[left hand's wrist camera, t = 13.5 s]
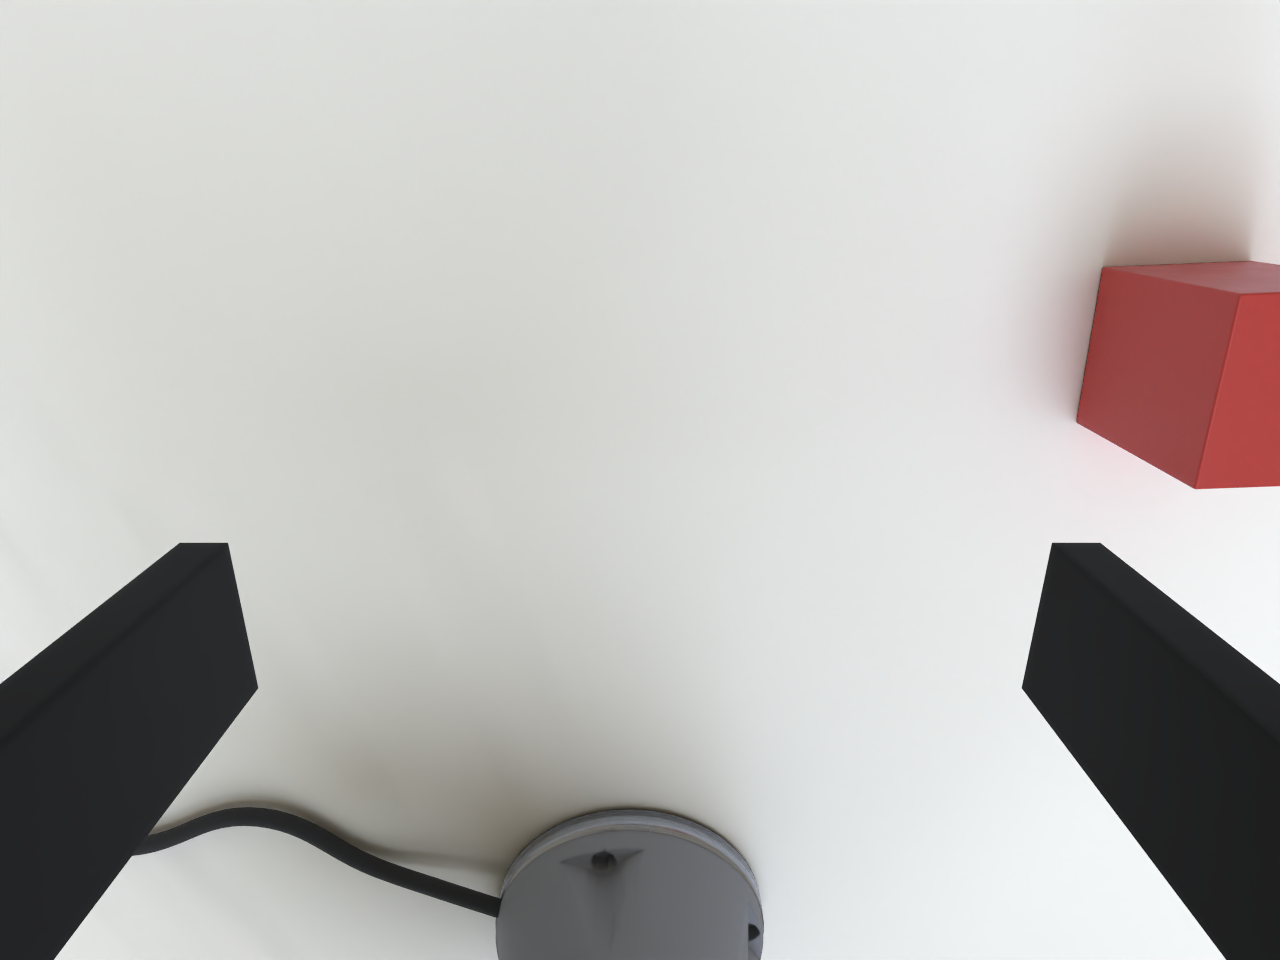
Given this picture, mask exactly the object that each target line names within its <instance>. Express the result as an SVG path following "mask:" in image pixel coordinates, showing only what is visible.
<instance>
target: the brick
mask: <svg viewBox="0 0 1280 960" xmlns="http://www.w3.org/2000/svg"><path fill="white" fill-rule="evenodd" d="M1077 423H1078V424H1080V425H1082V426H1084V427H1085V428H1087V429H1089V430H1091V431H1093V432H1094V433H1096V434H1098V435H1100V436H1101V437H1103V438H1105V439H1107V440H1109V441H1110V442H1112V443H1114V444H1116V445H1117V446H1119V447H1121V448H1123V449H1124V450H1126V451H1128V452H1130V453H1132V454H1133V455H1135V456H1137V457H1139V458H1140V459H1142V460H1144V461H1146V462H1148V463H1149V464H1151V465H1153V466H1155V467H1156V468H1158V469H1160V470H1162V471H1164V472H1165V473H1167V474H1169V475H1171V476H1172V477H1174V478H1176V479H1178V480H1180V481H1181V482H1183V483H1185V484H1187V485H1188V486H1190V487H1192V488H1194V489H1212V488H1240V487H1268V486H1280V265H1276V264H1269V263H1261V262H1254V261H1241V262H1216V263H1191V264H1166V265H1142V266H1117V267H1104V268H1103V269H1102V275H1101V281H1100V287H1099V293H1098V299H1097V305H1096V310H1095V316H1094V322H1093V328H1092V334H1091V340H1090V346H1089V352H1088V358H1087V364H1086V369H1085V375H1084V381H1083V387H1082V393H1081V399H1080V405H1079V411H1078V417H1077Z"/></svg>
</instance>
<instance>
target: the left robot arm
mask: <svg viewBox="0 0 1280 960" xmlns="http://www.w3.org/2000/svg"><path fill="white" fill-rule="evenodd" d="M257 689H258V685H257V680H256V675H255V670H254V666H253V661H252V656H251V651H250V646H249V642H248V637H247V632H246V627H245V622H244V618H243V613H242V608H241V603H240V599H239V594H238V589H237V584H236V579H235V575H234V570H233V565H232V560H231V555H230V551H229V546H228V543H179V544H178V545H177V546H175V547H174V548H173V549H171V550H170V551H169V552H168V553H166V554H165V555H164V556H163V557H161V558H160V559H159V560H157V561H156V562H155V563H154V564H152V565H151V566H150V567H149V568H147V569H146V570H145V571H143V572H142V573H141V574H140V575H138V576H137V577H136V578H135V579H133V580H132V581H131V582H129V583H128V584H127V585H126V586H124V587H123V588H122V589H121V590H119V591H118V592H117V593H115V594H114V595H113V596H112V597H110V598H109V599H108V600H107V601H105V602H104V603H103V604H102V605H100V606H99V607H98V608H96V609H95V610H94V611H93V612H91V613H90V614H89V615H88V616H86V617H85V618H84V619H82V620H81V621H80V622H79V623H77V624H76V625H75V626H74V627H72V628H71V629H70V630H68V631H67V632H66V633H65V634H63V635H62V636H61V637H60V638H58V639H57V640H56V641H54V642H53V643H52V644H51V645H49V646H48V647H47V648H46V649H44V650H43V651H42V652H40V653H39V654H38V655H37V656H35V657H34V658H33V659H32V660H30V661H29V662H28V663H26V664H25V665H24V666H23V667H21V668H20V669H19V670H18V671H16V672H15V673H14V674H12V675H11V676H10V677H9V678H7V679H6V680H5V681H4V682H2V683H1V684H0V960H54V959H55V957H56V956H57V955H58V953H59V952H60V951H61V949H62V948H63V947H64V945H65V944H66V943H67V941H68V940H69V939H70V937H71V936H72V935H73V933H74V932H75V931H76V929H77V928H78V927H79V925H80V924H81V923H82V921H83V920H84V919H85V917H86V916H87V915H88V913H89V912H90V911H91V909H92V908H93V907H94V906H95V904H96V903H97V902H98V900H99V899H100V898H101V896H102V895H103V894H104V892H105V891H106V890H107V888H108V887H109V886H110V884H111V883H112V882H113V880H114V879H115V878H116V876H117V875H118V874H119V872H120V871H121V870H122V868H123V867H124V866H125V864H126V863H127V862H128V860H129V859H130V858H131V856H134V855H142V854H147V853H152V852H156V851H159V850H163V849H166V848H169V847H171V846H174V845H177V844H179V843H182V842H184V841H187V840H189V839H191V838H194V837H196V836H198V835H201V834H204V833H206V832H209V831H212V830H216V829H220V828H225V827H232V826H257V827H264V828H270V829H274V830H278V831H282V832H285V833H288V834H290V835H293V836H295V837H298V838H300V839H302V840H304V841H306V842H308V843H310V844H312V845H314V846H315V847H317V848H319V849H321V850H322V851H324V852H326V853H328V854H329V855H331V856H333V857H334V858H336V859H338V860H340V861H341V862H343V863H345V864H347V865H349V866H351V867H353V868H355V869H357V870H359V871H361V872H364V873H366V874H368V875H371V876H373V877H376V878H378V879H381V880H384V881H387V882H389V883H392V884H395V885H398V886H401V887H404V888H407V889H410V890H413V891H416V892H419V893H422V894H425V895H428V896H431V897H434V898H437V899H440V900H443V901H446V902H449V903H452V904H455V905H458V906H462V907H465V908H468V909H471V910H474V911H477V912H480V913H483V914H487V915H490V916H493V917H496V946H497V953H498V958H499V960H760V959H761V954H762V948H763V932H764V922H763V914H762V908H761V902H760V895H759V890H758V887H757V883H756V880H755V878H754V875H753V873H752V871H751V870H750V868H749V866H748V864H747V863H746V862H745V860H744V859H743V858H742V856H741V855H740V854H739V853H738V852H737V851H736V850H735V849H734V847H732V846H731V845H730V844H729V843H728V842H727V841H726V840H724V839H723V838H721V837H720V836H719V835H717V834H716V833H714V832H712V831H711V830H709V829H707V828H705V827H703V826H701V825H699V824H697V823H695V822H693V821H690V820H687V819H684V818H682V817H678V816H674V815H671V814H666V813H661V812H656V811H648V810H631V809H627V810H611V811H602V812H597V813H592V814H587V815H584V816H580V817H577V818H574V819H571V820H569V821H566V822H564V823H561V824H559V825H557V826H555V827H553V828H551V829H550V830H548V831H546V832H545V833H543V834H542V835H540V836H539V837H537V838H536V839H535V840H533V841H532V842H531V843H530V844H529V845H528V846H527V847H526V848H524V850H523V851H522V852H521V853H520V854H519V855H518V856H517V858H516V859H515V861H514V862H513V863H512V865H511V867H510V869H509V870H508V872H507V874H506V877H505V879H504V882H503V886H502V890H501V894H500V899H499V898H496V897H493V896H490V895H487V894H484V893H481V892H478V891H474V890H471V889H468V888H465V887H462V886H459V885H456V884H453V883H450V882H447V881H444V880H441V879H438V878H435V877H431V876H428V875H425V874H422V873H419V872H416V871H413V870H410V869H407V868H404V867H401V866H398V865H396V864H393V863H390V862H387V861H385V860H382V859H380V858H377V857H375V856H373V855H370V854H368V853H366V852H364V851H362V850H360V849H358V848H356V847H354V846H353V845H351V844H349V843H347V842H346V841H344V840H342V839H340V838H339V837H337V836H335V835H334V834H332V833H330V832H328V831H327V830H325V829H323V828H321V827H319V826H318V825H316V824H314V823H312V822H310V821H308V820H305V819H303V818H300V817H298V816H295V815H292V814H289V813H286V812H281V811H277V810H272V809H265V808H252V807H245V808H232V809H226V810H221V811H217V812H213V813H211V814H208V815H205V816H202V817H199V818H197V819H194V820H192V821H189V822H187V823H185V824H182V825H180V826H177V827H175V828H173V829H170V830H167V831H164V832H161V833H158V834H153V835H149V836H147V835H148V834H149V832H150V831H151V830H152V828H153V827H154V826H155V824H156V823H157V822H158V821H159V819H160V818H161V817H162V815H163V814H164V813H165V811H166V810H167V809H168V807H169V806H170V805H171V803H172V802H173V801H174V799H175V798H176V797H177V795H178V794H179V793H180V791H181V790H182V789H183V787H184V786H185V785H186V783H187V782H188V781H189V779H190V778H191V777H192V775H193V774H194V773H195V771H196V770H197V769H198V767H199V766H200V765H201V763H202V762H203V761H204V759H205V758H206V757H207V755H208V754H209V753H210V751H211V750H212V749H213V747H214V746H215V745H216V743H217V742H218V741H219V739H220V738H221V737H222V736H223V734H224V733H225V732H226V730H227V729H228V728H229V726H230V725H231V724H232V722H233V721H234V720H235V718H236V717H237V716H238V714H239V713H240V712H241V710H242V709H243V708H244V706H245V705H246V704H247V702H248V701H249V700H250V698H251V697H252V696H253V694H254V693H255V692H256V690H257ZM1022 689H1023V690H1024V692H1025V693H1026V694H1027V696H1028V697H1029V698H1030V700H1031V701H1032V702H1033V704H1034V705H1035V706H1036V708H1037V709H1038V710H1039V712H1040V713H1041V714H1042V716H1043V717H1044V718H1045V720H1046V721H1047V722H1048V724H1049V725H1050V726H1051V728H1052V729H1053V730H1054V732H1055V733H1056V734H1057V736H1058V737H1059V738H1060V739H1061V741H1062V742H1063V743H1064V745H1065V746H1066V747H1067V749H1068V750H1069V751H1070V753H1071V754H1072V755H1073V757H1074V758H1075V759H1076V761H1077V762H1078V763H1079V765H1080V766H1081V767H1082V769H1083V770H1084V771H1085V773H1086V774H1087V775H1088V777H1089V778H1090V779H1091V781H1092V782H1093V783H1094V785H1095V786H1096V787H1097V789H1098V790H1099V791H1100V793H1101V794H1102V795H1103V797H1104V798H1105V799H1106V801H1107V802H1108V803H1109V805H1110V806H1111V807H1112V809H1113V810H1114V811H1115V813H1116V814H1117V815H1118V817H1119V818H1120V819H1121V821H1122V822H1123V823H1124V824H1125V826H1126V827H1127V828H1128V830H1129V831H1130V832H1131V834H1132V835H1133V836H1134V838H1135V839H1136V840H1137V842H1138V843H1139V844H1140V846H1141V847H1142V848H1143V850H1144V851H1145V852H1146V854H1147V855H1148V856H1149V858H1150V859H1151V860H1152V862H1153V863H1154V864H1155V866H1156V867H1157V868H1158V870H1159V871H1160V872H1161V874H1162V875H1163V876H1164V878H1165V879H1166V880H1167V882H1168V883H1169V884H1170V886H1171V887H1172V888H1173V890H1174V891H1175V892H1176V894H1177V895H1178V896H1179V898H1180V899H1181V900H1182V902H1183V903H1184V904H1185V906H1186V907H1187V908H1188V909H1189V911H1190V912H1191V913H1192V915H1193V916H1194V917H1195V919H1196V920H1197V921H1198V923H1199V924H1200V925H1201V927H1202V928H1203V929H1204V931H1205V932H1206V933H1207V935H1208V936H1209V937H1210V939H1211V940H1212V941H1213V943H1214V944H1215V945H1216V947H1217V948H1218V949H1219V951H1220V952H1221V953H1222V955H1223V956H1224V957H1225V959H1226V960H1280V684H1279V683H1278V682H1276V681H1275V680H1274V679H1273V678H1271V677H1270V676H1269V675H1268V674H1266V673H1265V672H1264V671H1262V670H1261V669H1260V668H1259V667H1257V666H1256V665H1255V664H1254V663H1252V662H1251V661H1250V660H1248V659H1247V658H1246V657H1245V656H1243V655H1242V654H1241V653H1240V652H1238V651H1237V650H1236V649H1234V648H1233V647H1232V646H1231V645H1229V644H1228V643H1227V642H1226V641H1224V640H1223V639H1222V638H1220V637H1219V636H1218V635H1217V634H1215V633H1214V632H1213V631H1212V630H1210V629H1209V628H1208V627H1206V626H1205V625H1204V624H1203V623H1201V622H1200V621H1199V620H1198V619H1196V618H1195V617H1194V616H1192V615H1191V614H1190V613H1189V612H1187V611H1186V610H1185V609H1184V608H1182V607H1181V606H1180V605H1178V604H1177V603H1176V602H1175V601H1173V600H1172V599H1171V598H1170V597H1168V596H1167V595H1166V594H1165V593H1163V592H1162V591H1161V590H1159V589H1158V588H1157V587H1156V586H1154V585H1153V584H1152V583H1151V582H1149V581H1148V580H1147V579H1145V578H1144V577H1143V576H1142V575H1140V574H1139V573H1138V572H1137V571H1135V570H1134V569H1133V568H1131V567H1130V566H1129V565H1128V564H1126V563H1125V562H1124V561H1123V560H1121V559H1120V558H1119V557H1117V556H1116V555H1115V554H1114V553H1112V552H1111V551H1110V550H1109V549H1107V548H1106V547H1105V546H1103V545H1102V544H1101V543H1052V546H1051V551H1050V555H1049V560H1048V565H1047V570H1046V575H1045V579H1044V584H1043V589H1042V594H1041V599H1040V603H1039V608H1038V613H1037V618H1036V622H1035V627H1034V632H1033V637H1032V642H1031V646H1030V651H1029V656H1028V661H1027V665H1026V670H1025V675H1024V680H1023V685H1022Z"/></svg>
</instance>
